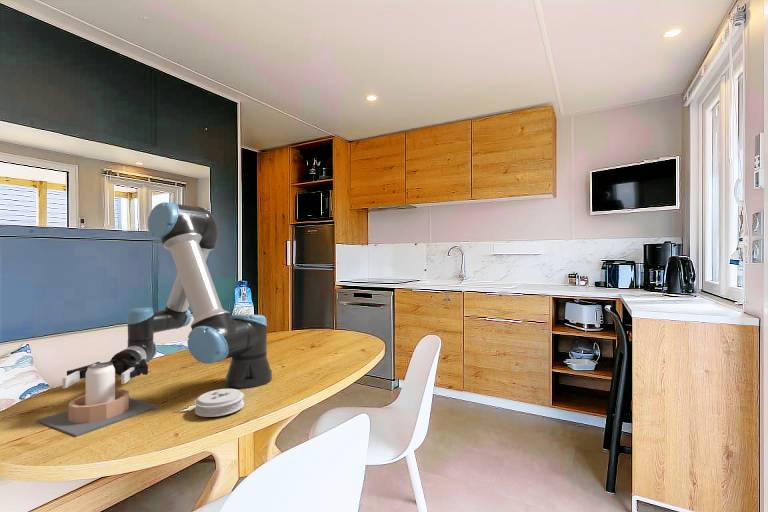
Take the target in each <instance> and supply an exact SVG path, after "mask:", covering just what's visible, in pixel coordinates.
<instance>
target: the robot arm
mask: <svg viewBox="0 0 768 512" xmlns="http://www.w3.org/2000/svg"><path fill="white" fill-rule="evenodd" d="M147 229H148V232H149V235H151V236H152V237H154V238H155V239H160V241H161V244H162V246H163V248H164V249H165V250H167V251H170V253H171V255H172V256H171V257H172V259H173V262H174V264H175V267H176V270H177V275H176V277H175V280H174V283H173V286H172V288H171V292H170V294H169V297H168V300H167V303H166V305H165V308H164V309H163V310H156V311H154V308H153V307H147V306H145V307H143V306H142V307H135V308H131V309H129V310H128V312H127V318H126V323H127V347H126V348H125V349H123V350H121V351H118V352H116V353H115V354H114V355H112V358H111V359H110V360H109V361H108V362H112V363H113V366H114V368H115V375H118V376H121V379H120V382H121V385H124V384H126V383H127V382H129V381H130V380H132V379H134V378H135V377H139V376H141V374H142V375H143V376H144V375H145V376H146V375H148V374H149V365H148V363H149V362H150V361H151V360H152V359H154V357H155V356H156V354H157V352H158V345H157V344H156V343H155V341H154V334H155V333H159V332H164V331H165V332H166V331H170V330H176V329H181V328H184V327H187V326H188V325H189V324H190V323H191V325H190V328H191V331H190V332H189V333H188V335H187V338H188V340H187V348H188V351H189V353H190V354H191V356H192V357H193V358H194V360H196V361H198V362H201V363H202V364H207V365H208V364H209V365H210V364H214V363H220V362H223V361H224V360H228V359H230V363H229V367H228V370H227V374H226V376H225V385H226V386H227V387H231V388H233V389H236V388H237V389H246V388H255V387H259V386H263V385H265V384H267V383H270V382H271V381H272V380H273V372H272V369H271V368H270V367H271V366H270V363H269V359H268V356H267V354H268V352H267V350H268V349H267V348H268V347H267V345H268V344H267V343H268V341H267V339H268V338H267V335H268V334H267V328H268V325H267V318H266V316H265V315H262V314H249V313H248V314H247V313H246V314H244V313H243V314H242V313H240V314H238V313H237V314H235V313H233V314H230V312H229V311H228V310H225V309H224V308H223V306H222V303H221V302H220V298H219V296H218V293H217V290H216V287H215V285H214V284H215V283H214V281H213V279H212V276H211V273H210V270H209V267H208V265H207V262H206V261H207V259H208V257H209V254H210V252H211V251H213V250H214V249H215V247H216V244H217V240H218V236H219V227H218V222H217V220H216V218H215V216H214V215H213V214H212V212H210V211H209V210H208V209H206V208H205V207H201V206H192V205H185V204H178V203H176V202H160V203H158V204H156V205H155V206H154V207H153V208H152V209H151V211H150V213H149V215H148V219H147ZM189 309H190V310H191V311H190V310H189ZM191 316H192V317H193V321H192V317H191ZM191 321H192V322H191ZM97 363H101V362H100V361H97V362H94V363H92V364H88V365H84V366H81V367H77V368H74V369H70V370H67V371H66V376H64V377H62V379H61V380H62V389H67V388H69V387H71V386H73V385H74V384H77V383H78V382H80V380H81V379H82V380H83V379H86V371H87V369H88V366H90V365H93V364H97Z"/></svg>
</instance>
